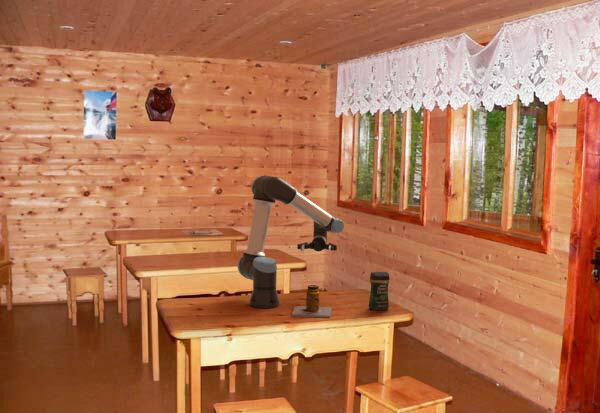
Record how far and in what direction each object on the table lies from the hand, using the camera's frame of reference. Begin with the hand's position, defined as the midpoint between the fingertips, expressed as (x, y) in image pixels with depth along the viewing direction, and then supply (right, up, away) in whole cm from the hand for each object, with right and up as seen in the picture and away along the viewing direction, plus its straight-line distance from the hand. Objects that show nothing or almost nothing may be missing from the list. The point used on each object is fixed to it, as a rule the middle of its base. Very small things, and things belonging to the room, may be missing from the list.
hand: (315, 249), depth 326 cm
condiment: (-3, -29, -14) cm, 32 cm away
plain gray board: (-2, -29, -14) cm, 33 cm away
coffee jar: (+31, -29, -4) cm, 43 cm away
